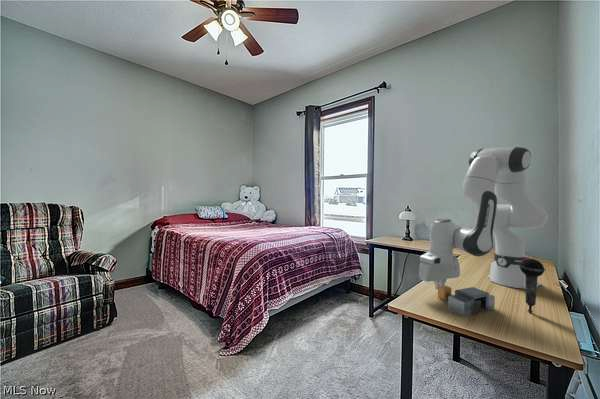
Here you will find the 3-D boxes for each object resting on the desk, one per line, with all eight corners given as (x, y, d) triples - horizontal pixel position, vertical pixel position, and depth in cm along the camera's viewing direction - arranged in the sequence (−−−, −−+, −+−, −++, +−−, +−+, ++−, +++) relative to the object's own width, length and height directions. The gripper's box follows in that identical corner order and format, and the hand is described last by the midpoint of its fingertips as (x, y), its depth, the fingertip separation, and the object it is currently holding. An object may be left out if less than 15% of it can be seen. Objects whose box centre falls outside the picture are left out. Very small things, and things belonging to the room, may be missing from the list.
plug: (445, 295, 104) (445, 285, 104) (480, 310, 91) (480, 298, 91) (437, 297, 103) (437, 286, 103) (472, 312, 89) (472, 300, 89)
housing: (477, 302, 98) (478, 285, 98) (494, 309, 92) (494, 291, 92) (448, 309, 92) (448, 291, 92) (463, 316, 86) (464, 297, 86)
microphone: (542, 312, 90) (544, 258, 90) (544, 319, 85) (546, 262, 85) (517, 306, 95) (519, 255, 94) (517, 312, 90) (519, 258, 89)
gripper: (450, 253, 111) (449, 284, 111) (416, 256, 103) (415, 289, 104) (464, 257, 105) (463, 289, 105) (429, 260, 97) (428, 295, 98)
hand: (439, 289), depth 104 cm, fingers closed
